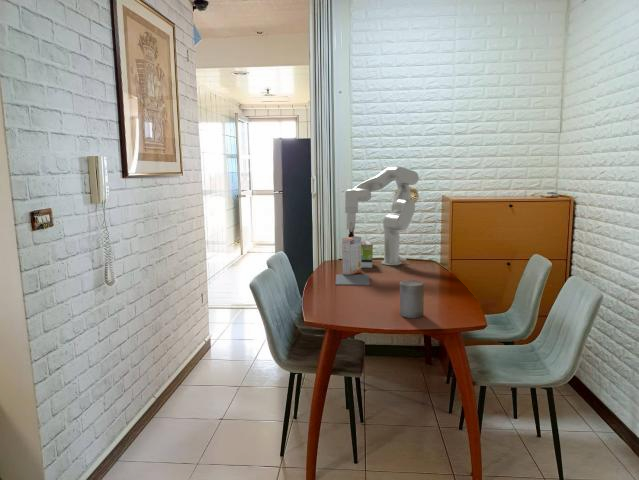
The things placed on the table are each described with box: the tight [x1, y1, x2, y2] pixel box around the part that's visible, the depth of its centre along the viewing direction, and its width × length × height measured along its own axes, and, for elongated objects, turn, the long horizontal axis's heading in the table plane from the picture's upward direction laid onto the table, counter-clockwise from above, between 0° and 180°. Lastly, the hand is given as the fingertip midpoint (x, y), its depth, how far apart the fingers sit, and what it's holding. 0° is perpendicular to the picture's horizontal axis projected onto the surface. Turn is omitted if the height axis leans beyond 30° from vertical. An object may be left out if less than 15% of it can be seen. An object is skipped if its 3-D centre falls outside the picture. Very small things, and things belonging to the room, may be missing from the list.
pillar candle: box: [399, 279, 425, 319], centre depth 193 cm, size 10×10×15 cm
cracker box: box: [341, 235, 362, 275], centre depth 270 cm, size 14×6×21 cm, turn 149°
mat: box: [335, 273, 371, 286], centre depth 256 cm, size 18×23×1 cm
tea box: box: [361, 240, 374, 269], centre depth 294 cm, size 15×10×15 cm
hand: (351, 241), depth 280 cm, fingers closed
